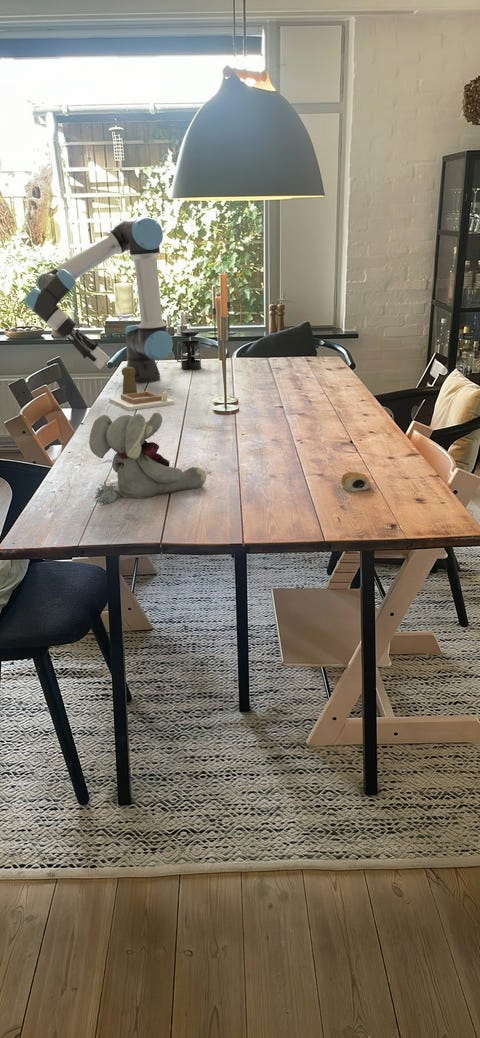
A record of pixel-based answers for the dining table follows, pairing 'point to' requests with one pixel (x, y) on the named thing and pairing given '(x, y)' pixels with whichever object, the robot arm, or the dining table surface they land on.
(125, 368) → the cork
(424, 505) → the dining table surface
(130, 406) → the seat board
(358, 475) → the pastry
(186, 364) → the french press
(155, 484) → the plush elephant
